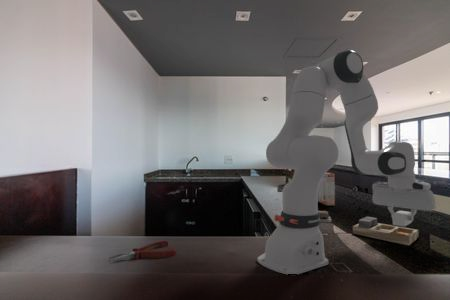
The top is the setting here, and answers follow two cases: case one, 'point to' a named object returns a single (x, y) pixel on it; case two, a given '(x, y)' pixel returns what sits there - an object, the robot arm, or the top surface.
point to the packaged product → (324, 216)
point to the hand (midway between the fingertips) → (402, 219)
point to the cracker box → (327, 190)
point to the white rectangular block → (401, 218)
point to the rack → (385, 231)
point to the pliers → (146, 252)
